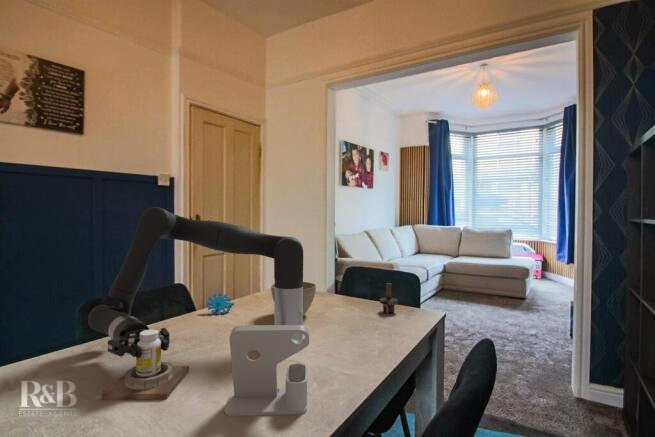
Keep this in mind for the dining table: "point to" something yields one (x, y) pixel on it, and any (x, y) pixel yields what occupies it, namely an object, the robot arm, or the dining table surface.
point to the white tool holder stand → (266, 371)
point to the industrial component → (388, 300)
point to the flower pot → (307, 294)
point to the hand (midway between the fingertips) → (153, 349)
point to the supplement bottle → (149, 354)
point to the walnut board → (146, 393)
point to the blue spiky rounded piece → (219, 304)
